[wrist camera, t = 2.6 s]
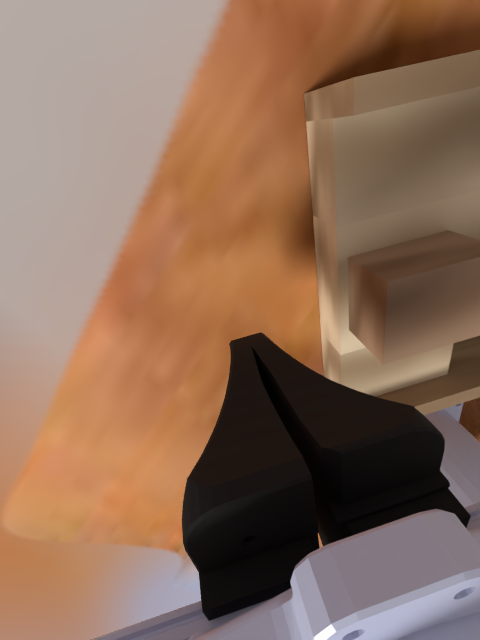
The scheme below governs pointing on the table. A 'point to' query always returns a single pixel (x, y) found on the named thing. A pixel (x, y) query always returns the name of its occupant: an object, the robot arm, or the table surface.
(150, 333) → the table surface
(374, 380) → the board
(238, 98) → the table surface
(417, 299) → the walnut block
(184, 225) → the table surface
